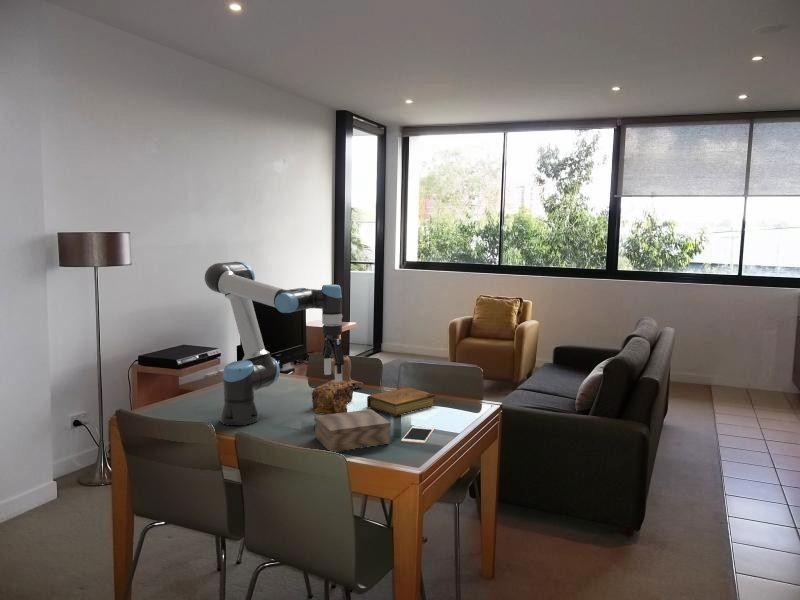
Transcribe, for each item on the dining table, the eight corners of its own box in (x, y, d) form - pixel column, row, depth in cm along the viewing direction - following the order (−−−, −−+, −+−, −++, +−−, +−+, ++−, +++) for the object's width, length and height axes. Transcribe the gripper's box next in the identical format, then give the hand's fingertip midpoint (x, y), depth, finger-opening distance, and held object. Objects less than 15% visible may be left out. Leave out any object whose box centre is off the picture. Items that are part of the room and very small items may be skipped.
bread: (334, 398, 291) (334, 376, 290) (354, 401, 286) (354, 379, 285) (310, 408, 275) (310, 385, 274) (331, 411, 270) (331, 388, 269)
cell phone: (434, 429, 247) (434, 427, 246) (424, 444, 229) (424, 442, 229) (412, 428, 249) (412, 425, 249) (400, 442, 232) (400, 440, 232)
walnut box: (330, 453, 220) (329, 430, 219) (314, 437, 236) (314, 416, 235) (390, 444, 229) (390, 422, 228) (371, 429, 246) (371, 409, 245)
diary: (405, 398, 292) (406, 386, 292) (435, 407, 278) (435, 394, 278) (367, 407, 277) (367, 394, 276) (395, 417, 263) (396, 403, 262)
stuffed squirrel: (322, 418, 260) (322, 386, 258) (354, 422, 255) (354, 390, 253) (310, 425, 251) (310, 392, 249) (343, 429, 246) (343, 396, 244)
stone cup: (325, 386, 313) (325, 356, 311) (344, 382, 321) (344, 353, 319) (344, 392, 302) (344, 361, 300) (363, 388, 309) (363, 357, 308)
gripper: (352, 328, 238) (352, 383, 241) (331, 319, 261) (332, 370, 263) (333, 329, 235) (333, 385, 237) (313, 321, 258) (314, 372, 260)
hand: (333, 378), depth 250 cm, fingers open, 13 cm apart
